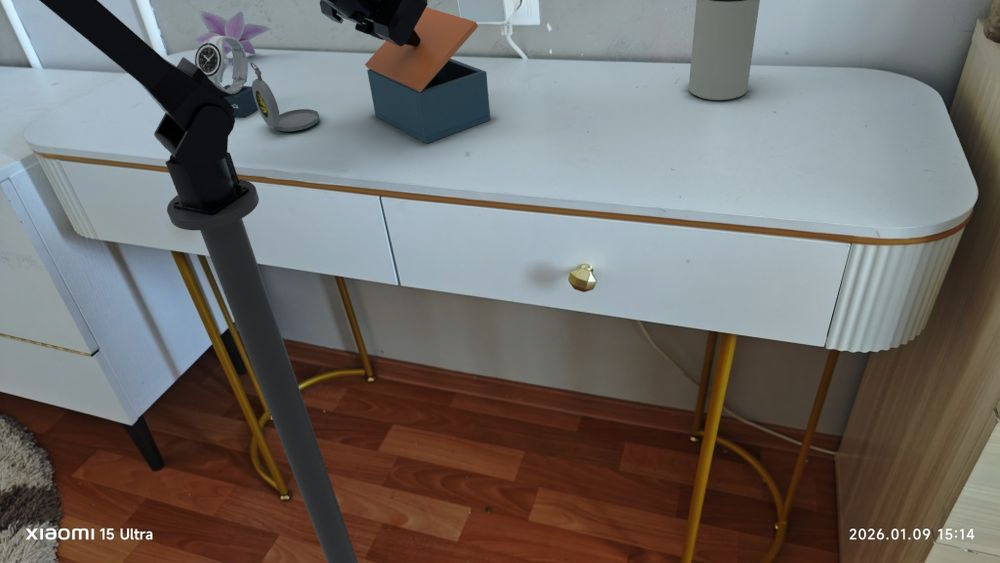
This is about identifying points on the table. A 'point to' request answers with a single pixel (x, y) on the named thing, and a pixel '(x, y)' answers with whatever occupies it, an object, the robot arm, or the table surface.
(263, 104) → the pocket watch
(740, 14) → the travel mug
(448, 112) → the storage box
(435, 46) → the box lid
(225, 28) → the lily
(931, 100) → the table surface
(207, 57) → the watch
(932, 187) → the table surface
